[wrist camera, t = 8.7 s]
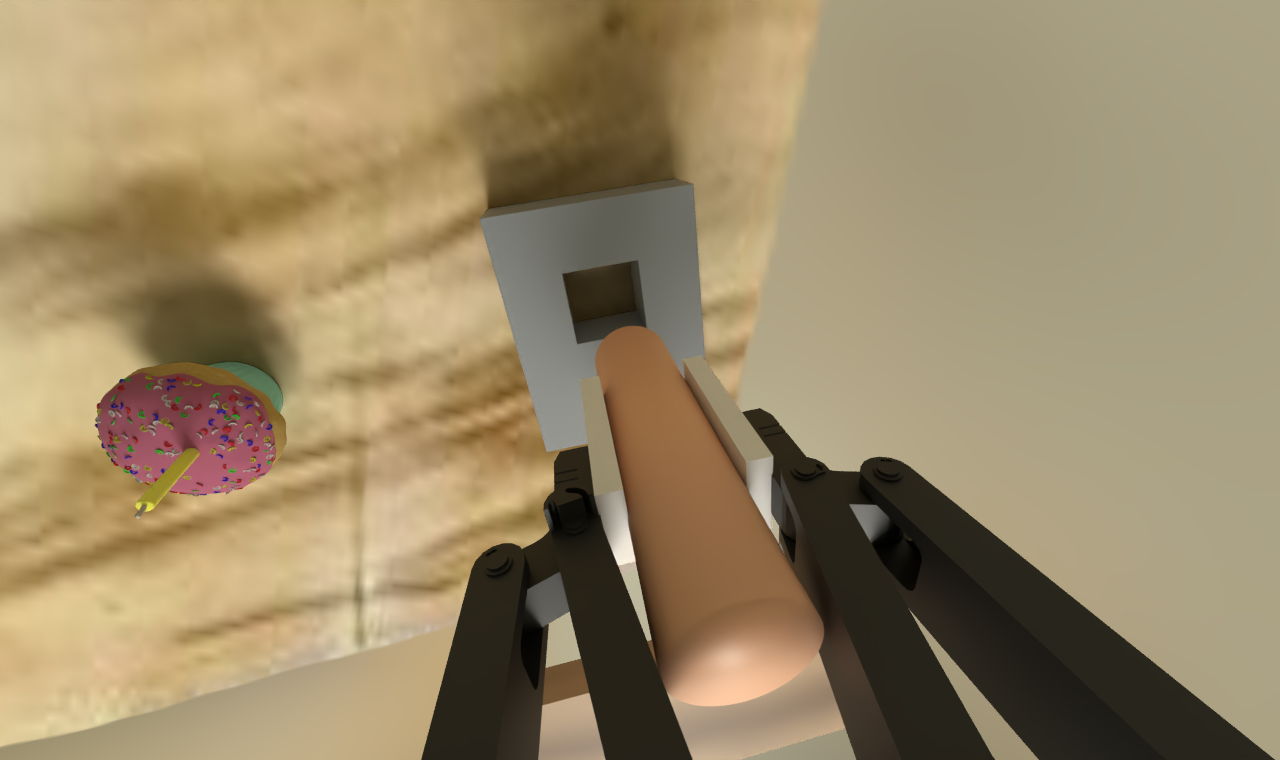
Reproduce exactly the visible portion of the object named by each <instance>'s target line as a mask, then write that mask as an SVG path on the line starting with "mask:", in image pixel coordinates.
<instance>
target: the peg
mask: <svg viewBox="0 0 1280 760" xmlns="http://www.w3.org/2000/svg"><path fill="white" fill-rule="evenodd" d="M595 366H596V371H597V376H599V378H600V383H601V387H602V392H603V397H604V402H605V406H606V411H607V416H608V420H609V425H610V430H611V434H612V439H613V444H614V449H615V453H616V458H617V463H618V467H619V472H620V477H621V482H622V486H623V491H624V496H625V501H626V506H627V511H628V526H629V532H630V536H631V541H632V546H633V551H634V556H635V561H636V566H637V570H638V575H639V580H640V585H641V589H642V595H643V600H644V604H645V609H646V614H647V619H648V624H649V629H650V634H651V638H652V643H653V648H654V653H655V658H656V663H657V668H658V671H659V673H660V676H661V678H662V681H663V684H664V686H665V689H666V691H667V692H668V693H669V694H670V695H671V696H672V697H674V698H675V699H677V700H679V701H682V702H684V703H688V704H692V705H697V706H725V705H731V704H737V703H741V702H745V701H748V700H751V699H755V698H757V697H760V696H762V695H765V694H767V693H769V692H771V691H774V690H775V689H777V688H779V687H781V686H783V685H784V684H786V683H787V682H789V681H790V680H792V679H793V678H794V677H796V676H797V675H798V674H799V673H801V672H802V671H803V670H804V669H805V668H806V667H807V666H808V665H809V664H810V663H811V661H812V660H813V659H814V657H815V656H816V655H817V653H818V651H819V649H820V647H821V644H822V642H823V637H824V626H823V622H822V620H821V617H820V616H819V614H818V612H817V610H816V609H815V607H814V605H813V603H812V602H811V600H810V598H809V596H808V595H807V593H806V591H805V589H804V588H803V586H802V584H801V582H800V581H799V579H798V577H797V575H796V574H795V572H794V570H793V568H792V567H791V565H790V563H789V561H788V560H787V558H786V556H785V554H784V553H783V551H782V549H781V547H780V546H779V544H778V542H777V540H776V539H775V537H774V535H773V534H772V532H771V530H770V528H769V526H768V525H767V523H766V521H765V519H764V518H763V516H762V514H761V512H760V511H759V509H758V507H757V505H756V504H755V502H754V500H753V498H752V497H751V495H750V493H749V491H748V490H747V488H746V486H745V484H744V483H743V481H742V479H741V477H740V476H739V474H738V472H737V470H736V469H735V467H734V465H733V463H732V462H731V460H730V458H729V456H728V454H727V453H726V451H725V449H724V447H723V446H722V444H721V442H720V440H719V439H718V437H717V435H716V433H715V432H714V430H713V428H712V426H711V425H710V423H709V421H708V419H707V418H706V416H705V414H704V412H703V411H702V409H701V407H700V405H699V404H698V402H697V400H696V398H695V397H694V395H693V393H692V391H691V390H690V388H689V386H688V384H687V383H686V381H685V379H684V377H683V376H682V374H681V372H680V370H679V369H678V367H677V365H676V363H675V362H674V360H673V358H672V356H671V355H670V353H669V351H668V349H667V348H666V346H665V344H664V342H663V341H662V339H661V338H660V337H659V336H658V335H657V334H656V333H655V332H653V331H652V330H650V329H647V328H645V327H641V326H626V327H622V328H619V329H617V330H615V331H613V332H612V333H610V334H609V335H608V336H607V337H605V338H604V340H603V341H602V342H601V344H600V345H599V347H598V349H597V352H596V357H595Z"/></svg>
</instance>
